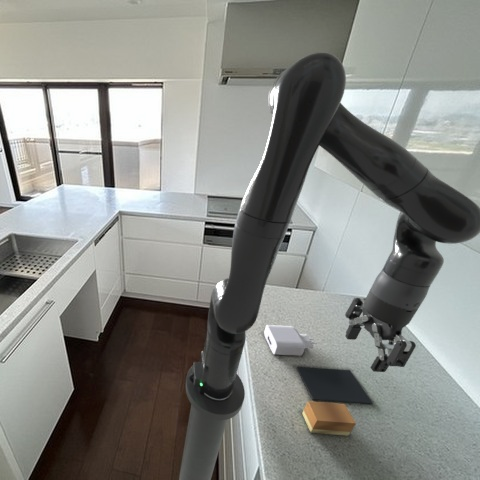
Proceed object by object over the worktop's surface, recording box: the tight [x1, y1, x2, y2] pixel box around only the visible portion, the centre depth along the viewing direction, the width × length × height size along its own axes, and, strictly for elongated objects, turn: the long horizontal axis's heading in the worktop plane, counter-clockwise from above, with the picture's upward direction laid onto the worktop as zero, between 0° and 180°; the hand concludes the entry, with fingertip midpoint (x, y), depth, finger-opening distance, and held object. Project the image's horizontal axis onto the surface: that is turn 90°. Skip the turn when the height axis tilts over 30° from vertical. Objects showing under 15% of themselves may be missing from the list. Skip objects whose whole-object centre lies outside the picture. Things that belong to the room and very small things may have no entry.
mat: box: [296, 365, 374, 405], centre depth 73 cm, size 16×10×1 cm, turn 87°
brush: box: [302, 400, 357, 436], centre depth 62 cm, size 9×4×5 cm, turn 88°
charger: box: [263, 324, 317, 356], centre depth 84 cm, size 5×9×15 cm
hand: (362, 353), depth 57 cm, fingers open, 8 cm apart
